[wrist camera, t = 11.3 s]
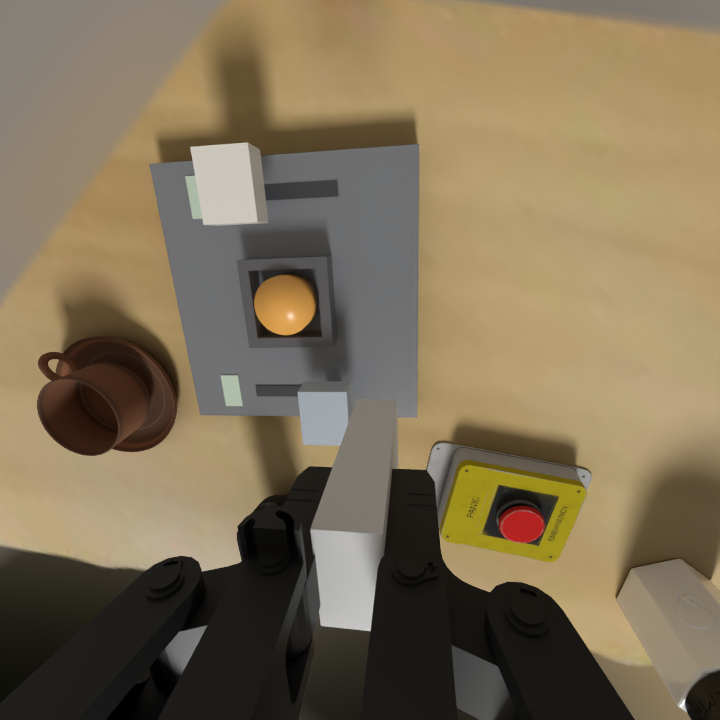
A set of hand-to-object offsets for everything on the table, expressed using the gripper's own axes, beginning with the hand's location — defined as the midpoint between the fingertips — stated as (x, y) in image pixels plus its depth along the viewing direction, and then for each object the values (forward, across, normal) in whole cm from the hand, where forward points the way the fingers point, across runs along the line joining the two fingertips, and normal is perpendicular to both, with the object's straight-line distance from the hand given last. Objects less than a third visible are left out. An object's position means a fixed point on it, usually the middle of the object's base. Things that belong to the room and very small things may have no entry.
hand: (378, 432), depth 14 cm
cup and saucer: (+18, +27, +6) cm, 33 cm away
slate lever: (+17, +5, +5) cm, 18 cm away
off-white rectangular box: (+16, +10, -11) cm, 22 cm away
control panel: (+18, +8, -3) cm, 20 cm away
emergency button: (+20, -10, +17) cm, 28 cm away
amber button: (+16, +8, -3) cm, 18 cm away
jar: (+20, -26, +28) cm, 44 cm away
